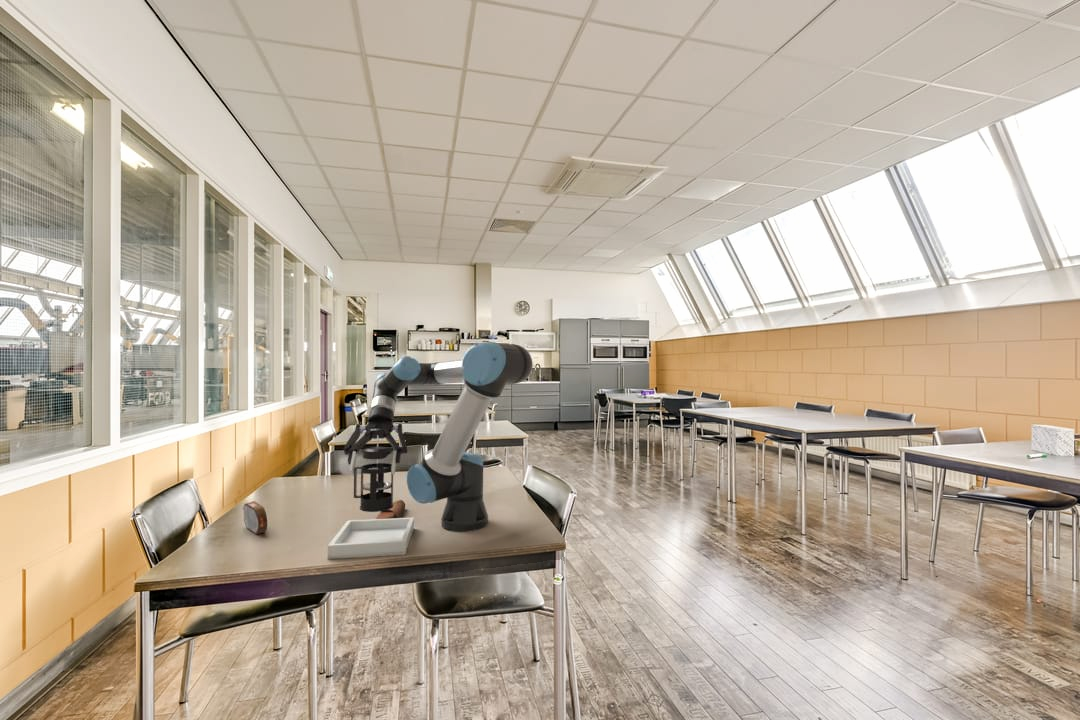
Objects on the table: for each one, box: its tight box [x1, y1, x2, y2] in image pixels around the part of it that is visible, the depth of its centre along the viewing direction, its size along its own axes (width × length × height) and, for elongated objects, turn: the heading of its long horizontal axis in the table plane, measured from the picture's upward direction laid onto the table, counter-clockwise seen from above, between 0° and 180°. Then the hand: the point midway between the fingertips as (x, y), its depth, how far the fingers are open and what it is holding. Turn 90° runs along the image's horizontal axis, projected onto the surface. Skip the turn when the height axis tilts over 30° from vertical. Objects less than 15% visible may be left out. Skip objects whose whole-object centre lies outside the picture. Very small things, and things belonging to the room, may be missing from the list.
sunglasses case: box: [375, 499, 406, 519], centre depth 164 cm, size 18×7×7 cm
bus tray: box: [327, 517, 415, 560], centre depth 139 cm, size 20×22×4 cm
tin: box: [242, 500, 268, 535], centre depth 150 cm, size 15×3×8 cm, turn 47°
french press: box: [353, 428, 394, 513], centre depth 140 cm, size 12×9×23 cm
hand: (372, 472), depth 137 cm, fingers closed on french press, 11 cm apart
